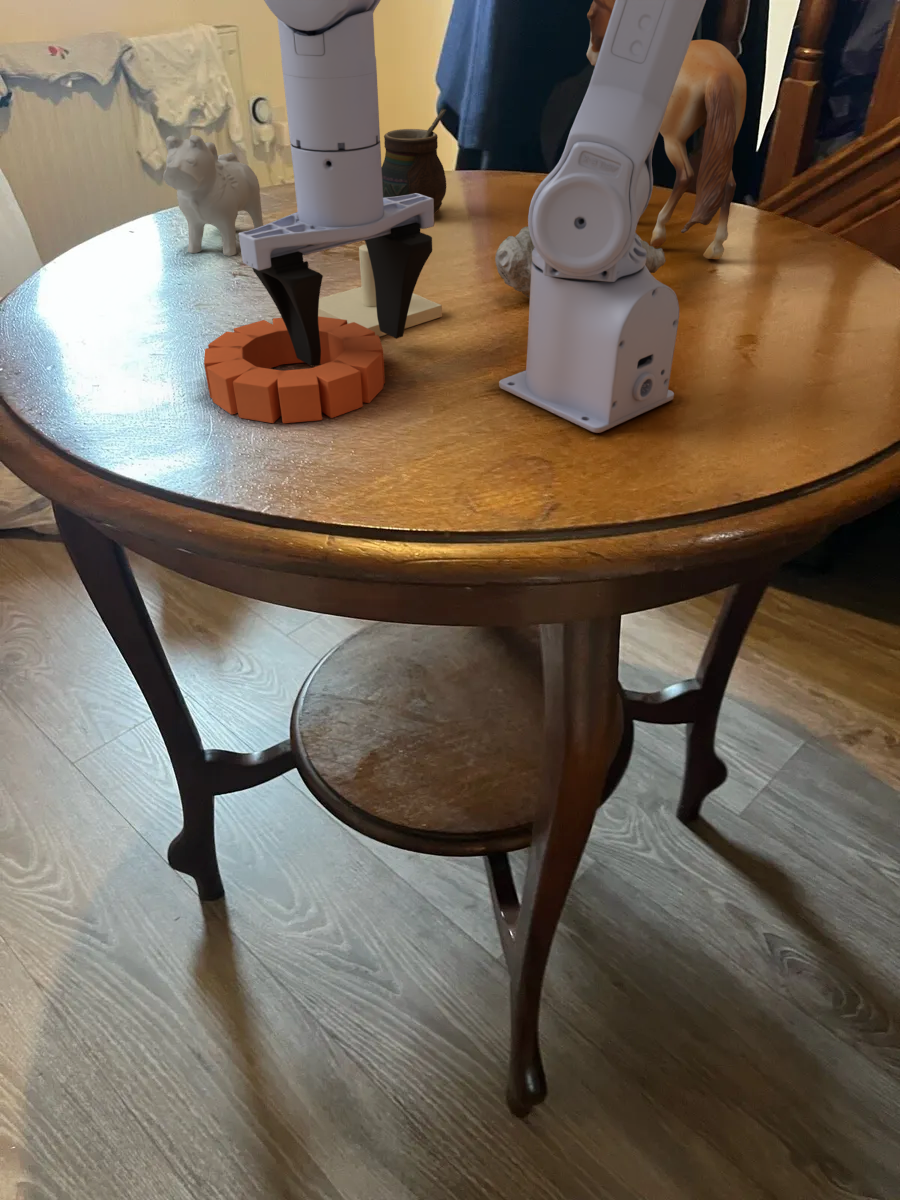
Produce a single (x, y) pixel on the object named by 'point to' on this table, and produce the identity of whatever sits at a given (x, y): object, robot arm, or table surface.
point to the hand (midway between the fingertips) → (351, 346)
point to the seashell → (518, 260)
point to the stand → (372, 302)
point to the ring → (293, 372)
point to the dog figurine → (211, 189)
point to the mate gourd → (413, 164)
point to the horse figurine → (695, 127)
